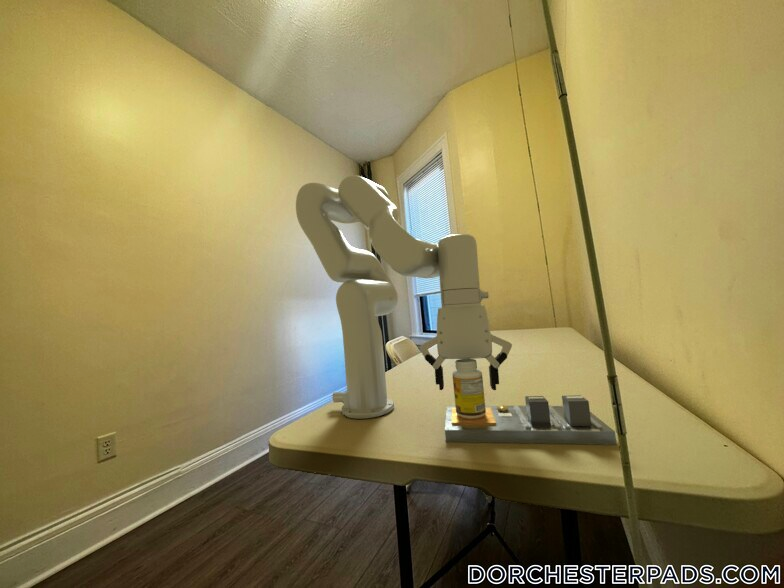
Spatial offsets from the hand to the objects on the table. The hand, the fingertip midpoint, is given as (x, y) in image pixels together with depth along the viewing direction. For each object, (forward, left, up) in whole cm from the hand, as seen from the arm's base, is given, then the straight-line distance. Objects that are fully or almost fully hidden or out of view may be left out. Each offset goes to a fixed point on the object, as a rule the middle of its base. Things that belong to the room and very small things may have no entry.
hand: (467, 388), depth 56 cm
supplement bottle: (0, 0, -5) cm, 5 cm away
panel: (+9, 0, -7) cm, 11 cm away
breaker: (+18, -3, -5) cm, 19 cm away
